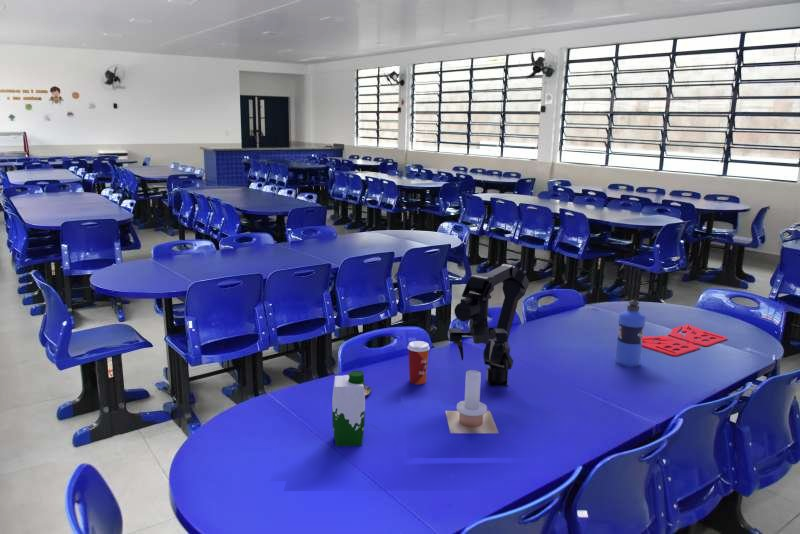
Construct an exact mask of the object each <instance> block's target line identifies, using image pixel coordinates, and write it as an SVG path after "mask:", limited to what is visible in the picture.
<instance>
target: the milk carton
mask: <svg viewBox="0 0 800 534" xmlns="http://www.w3.org/2000/svg"><path fill="white" fill-rule="evenodd" d="M348 374H349V375H348ZM348 374H344V375H335V376H334V381H333V389H332V396H331V397H332V399H331V402H332V403H331V405H332V406H331V408H332V412H331V413H332V415H331V417H332V420H331V421H332V430H333V436H334V442H335V446H336V447H359V446H360V447H361V446H363V439H364V432H365V425H366V424H365V423H366V422H365V421H366V396H365V393H364V384H365V373H364V372H363V371H361V370H352V371H350V372H348Z"/></svg>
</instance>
